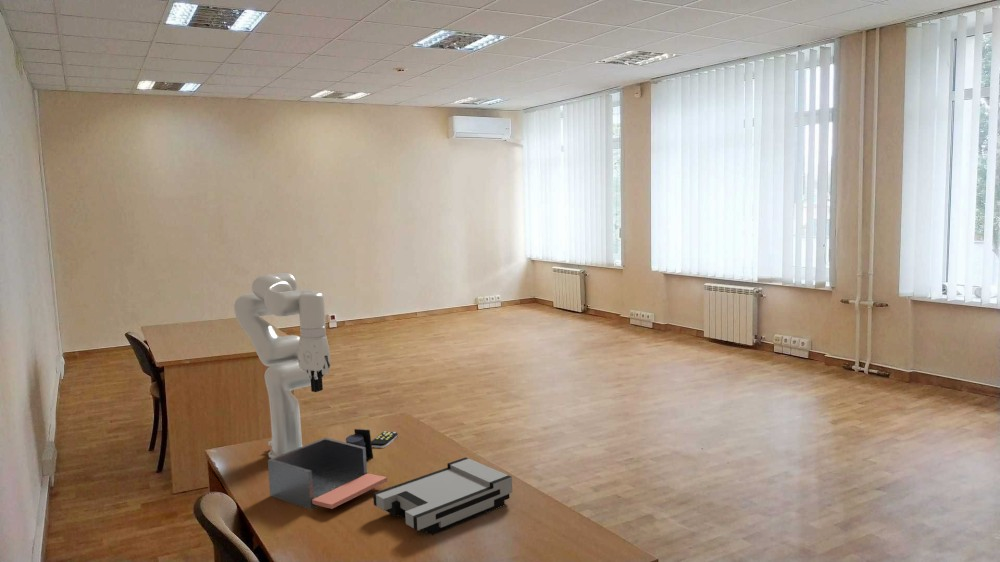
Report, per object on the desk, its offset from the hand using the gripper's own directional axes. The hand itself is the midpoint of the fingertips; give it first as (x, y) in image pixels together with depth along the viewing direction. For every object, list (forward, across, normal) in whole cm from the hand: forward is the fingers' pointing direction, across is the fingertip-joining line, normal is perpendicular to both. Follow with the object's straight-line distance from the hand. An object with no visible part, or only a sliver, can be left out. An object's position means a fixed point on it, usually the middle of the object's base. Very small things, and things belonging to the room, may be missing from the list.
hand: (317, 390), depth 222 cm
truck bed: (+27, +8, -8) cm, 29 cm away
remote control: (+28, -4, +32) cm, 42 cm away
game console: (+28, +49, 0) cm, 56 cm away
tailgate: (+24, +17, -8) cm, 31 cm away
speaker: (+27, +2, +14) cm, 31 cm away
